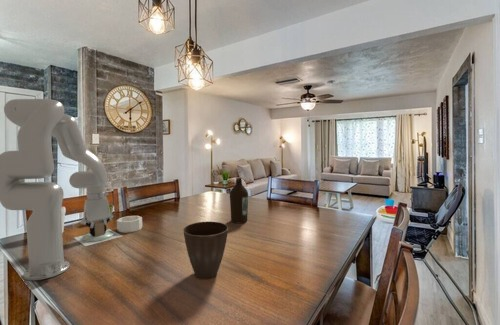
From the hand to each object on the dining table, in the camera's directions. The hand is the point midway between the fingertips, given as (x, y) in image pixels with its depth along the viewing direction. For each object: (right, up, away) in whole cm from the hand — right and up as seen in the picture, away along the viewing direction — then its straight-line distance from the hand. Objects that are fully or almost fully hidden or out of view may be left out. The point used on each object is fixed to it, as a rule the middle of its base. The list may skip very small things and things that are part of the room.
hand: (98, 233), depth 123 cm
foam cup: (-25, -2, +5) cm, 25 cm away
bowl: (+10, -1, +12) cm, 15 cm away
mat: (0, -2, 0) cm, 2 cm away
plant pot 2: (+57, -4, -34) cm, 67 cm away
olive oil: (+66, 0, +27) cm, 71 cm away
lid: (0, -1, 0) cm, 1 cm away
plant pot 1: (-12, 0, +28) cm, 30 cm away
